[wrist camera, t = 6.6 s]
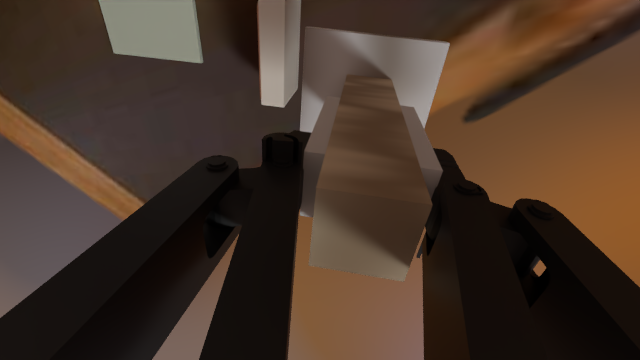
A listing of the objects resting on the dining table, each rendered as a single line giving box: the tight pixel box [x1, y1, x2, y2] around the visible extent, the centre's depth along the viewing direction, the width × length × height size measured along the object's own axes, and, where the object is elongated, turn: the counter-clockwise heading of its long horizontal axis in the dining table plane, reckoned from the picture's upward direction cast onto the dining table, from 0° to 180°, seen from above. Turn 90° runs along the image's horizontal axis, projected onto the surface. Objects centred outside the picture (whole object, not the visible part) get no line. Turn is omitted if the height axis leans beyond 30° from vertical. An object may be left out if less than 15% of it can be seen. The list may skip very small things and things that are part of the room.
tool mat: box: [99, 0, 203, 63], centre depth 34 cm, size 12×12×1 cm
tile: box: [257, 0, 301, 107], centre depth 32 cm, size 3×10×8 cm, turn 176°
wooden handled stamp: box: [300, 26, 450, 282], centre depth 14 cm, size 9×8×15 cm
